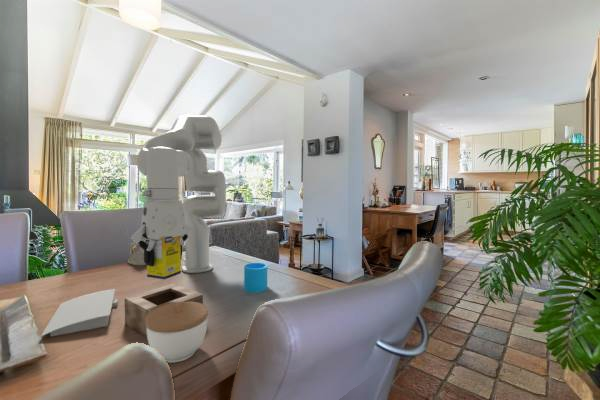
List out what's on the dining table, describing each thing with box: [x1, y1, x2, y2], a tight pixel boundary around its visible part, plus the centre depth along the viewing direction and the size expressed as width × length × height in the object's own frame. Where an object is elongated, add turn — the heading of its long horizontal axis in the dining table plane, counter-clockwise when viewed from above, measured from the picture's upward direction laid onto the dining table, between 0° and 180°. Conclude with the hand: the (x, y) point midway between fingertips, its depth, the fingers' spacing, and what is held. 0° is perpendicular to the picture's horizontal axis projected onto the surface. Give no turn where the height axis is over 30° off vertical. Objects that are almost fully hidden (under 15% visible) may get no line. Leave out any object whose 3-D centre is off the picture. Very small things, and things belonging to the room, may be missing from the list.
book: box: [40, 288, 119, 337], centre depth 81 cm, size 15×23×4 cm, turn 29°
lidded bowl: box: [145, 301, 209, 364], centre depth 65 cm, size 13×13×11 cm
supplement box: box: [146, 236, 182, 280], centre depth 78 cm, size 6×6×11 cm
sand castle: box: [127, 236, 147, 266], centre depth 139 cm, size 16×16×15 cm
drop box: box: [124, 283, 204, 338], centre depth 79 cm, size 14×14×7 cm
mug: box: [243, 262, 268, 294], centre depth 106 cm, size 12×8×8 cm
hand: (164, 261), depth 78 cm, fingers closed on supplement box, 6 cm apart
